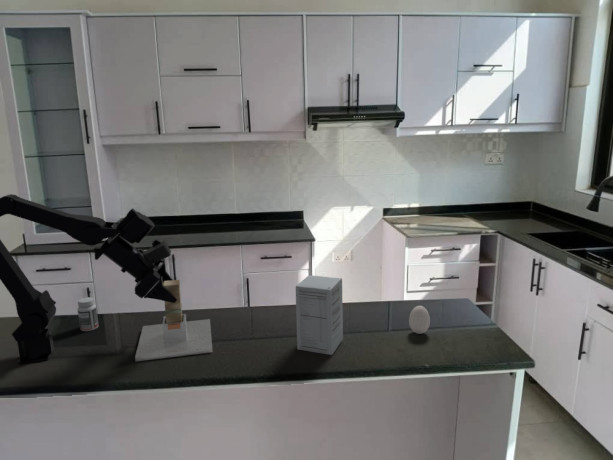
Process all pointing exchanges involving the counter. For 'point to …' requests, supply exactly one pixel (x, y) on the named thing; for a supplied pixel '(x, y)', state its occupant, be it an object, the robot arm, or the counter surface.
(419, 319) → the egg
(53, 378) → the counter surface
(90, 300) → the pill bottle
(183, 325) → the stand
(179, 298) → the post
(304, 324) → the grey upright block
